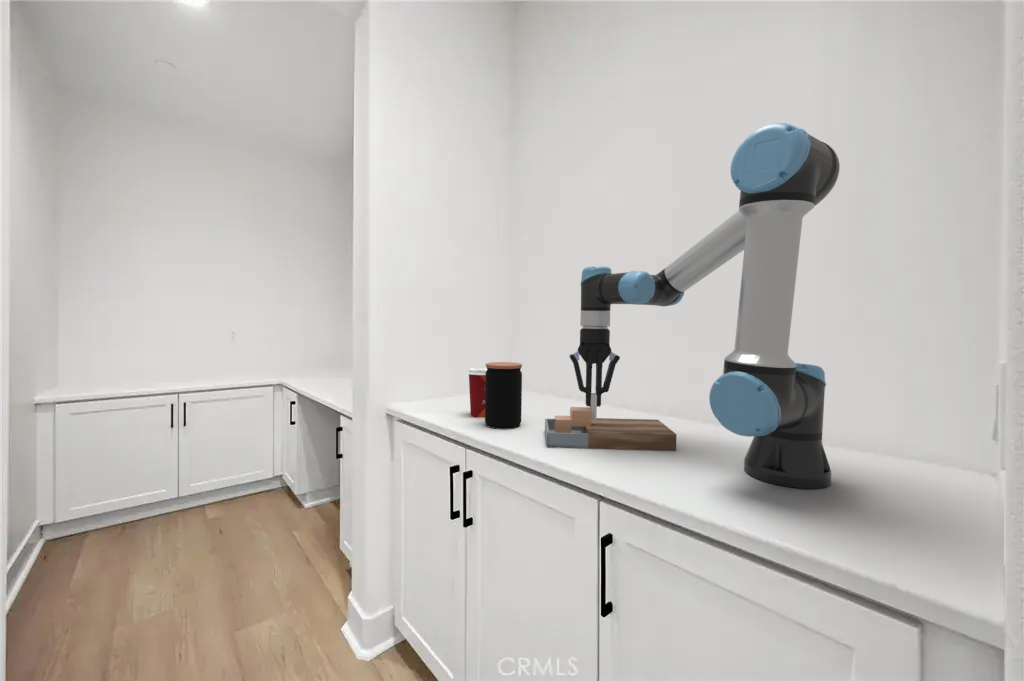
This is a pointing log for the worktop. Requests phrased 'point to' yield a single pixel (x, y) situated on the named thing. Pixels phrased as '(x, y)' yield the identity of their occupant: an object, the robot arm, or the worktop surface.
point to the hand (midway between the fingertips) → (592, 418)
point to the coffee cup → (477, 391)
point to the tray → (565, 436)
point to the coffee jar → (503, 394)
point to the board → (630, 434)
